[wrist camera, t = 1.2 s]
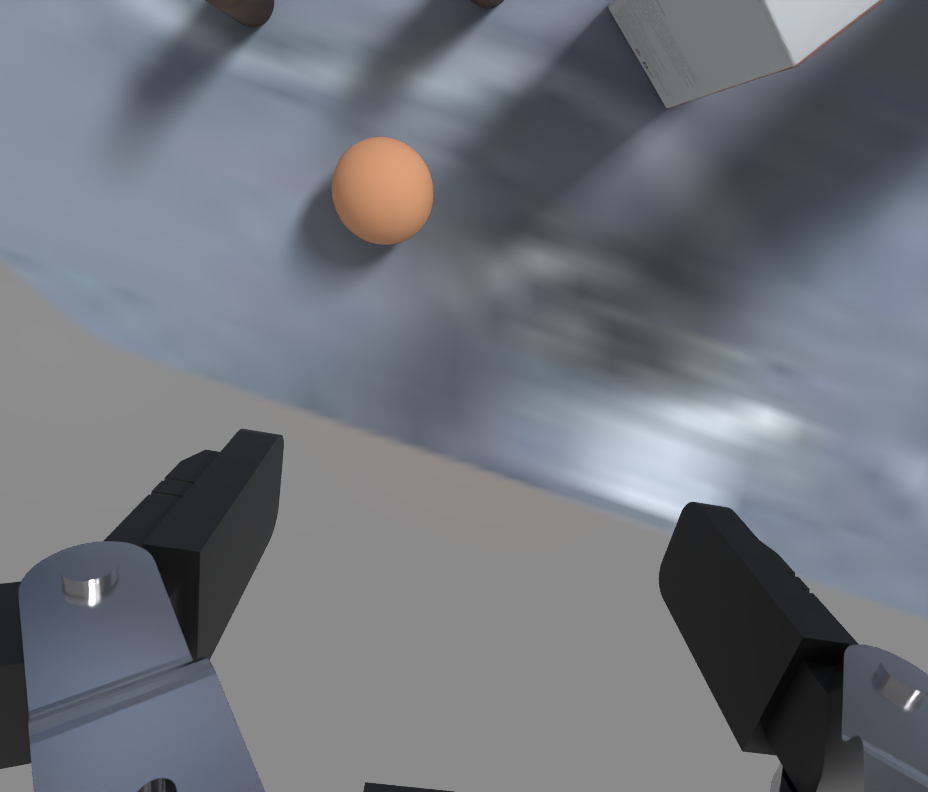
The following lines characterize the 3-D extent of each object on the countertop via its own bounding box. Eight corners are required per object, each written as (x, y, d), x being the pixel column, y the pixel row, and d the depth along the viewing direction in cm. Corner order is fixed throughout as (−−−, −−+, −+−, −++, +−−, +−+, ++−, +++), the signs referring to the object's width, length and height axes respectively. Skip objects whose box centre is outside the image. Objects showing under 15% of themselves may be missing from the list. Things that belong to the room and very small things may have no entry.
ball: (432, 136, 31) (424, 129, 26) (439, 235, 33) (435, 247, 28) (337, 143, 32) (311, 137, 26) (350, 241, 34) (329, 254, 28)
